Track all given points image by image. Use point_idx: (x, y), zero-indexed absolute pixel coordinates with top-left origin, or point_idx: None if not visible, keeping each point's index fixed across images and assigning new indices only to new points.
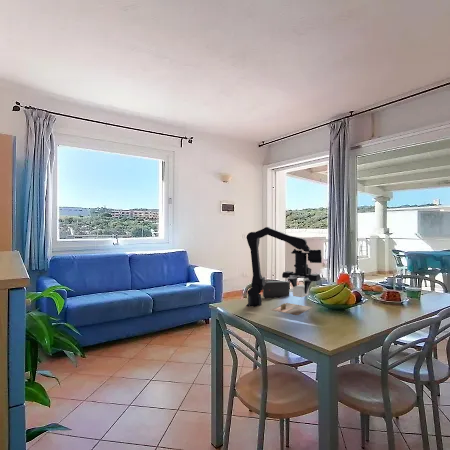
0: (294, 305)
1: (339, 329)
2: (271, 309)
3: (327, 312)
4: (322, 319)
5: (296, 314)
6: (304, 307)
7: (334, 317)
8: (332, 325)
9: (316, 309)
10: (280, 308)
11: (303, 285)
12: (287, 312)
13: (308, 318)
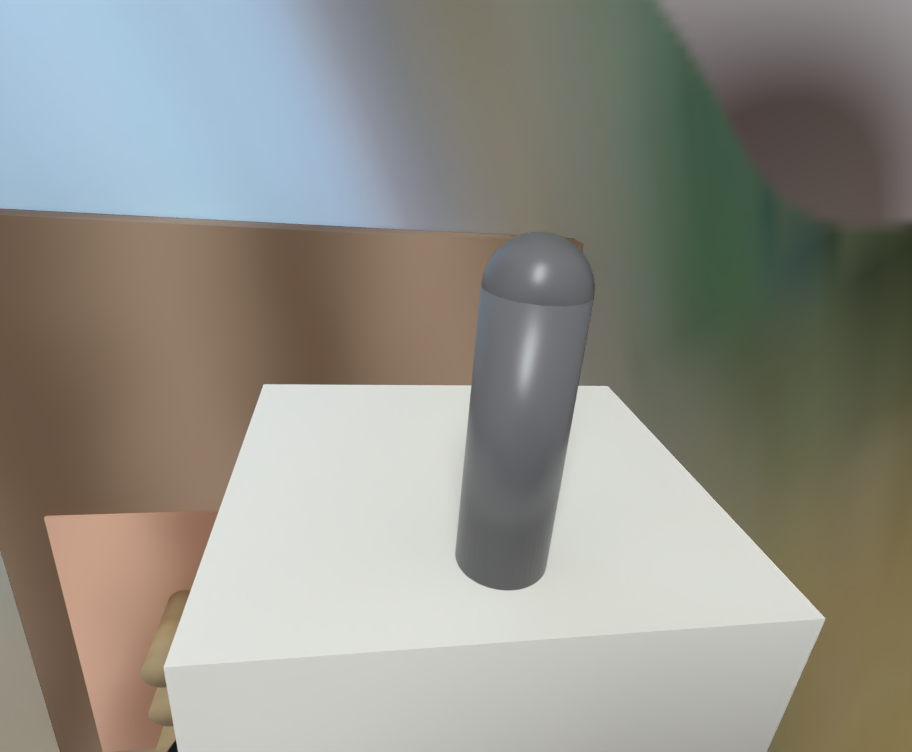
0: (206, 329)
1: (906, 745)
2: (60, 744)
3: (820, 315)
4: None
5: None
6: (444, 356)
7: (899, 483)
8: (859, 706)
9: (635, 238)
10: (138, 649)
11: (505, 709)
12: None
13: None
